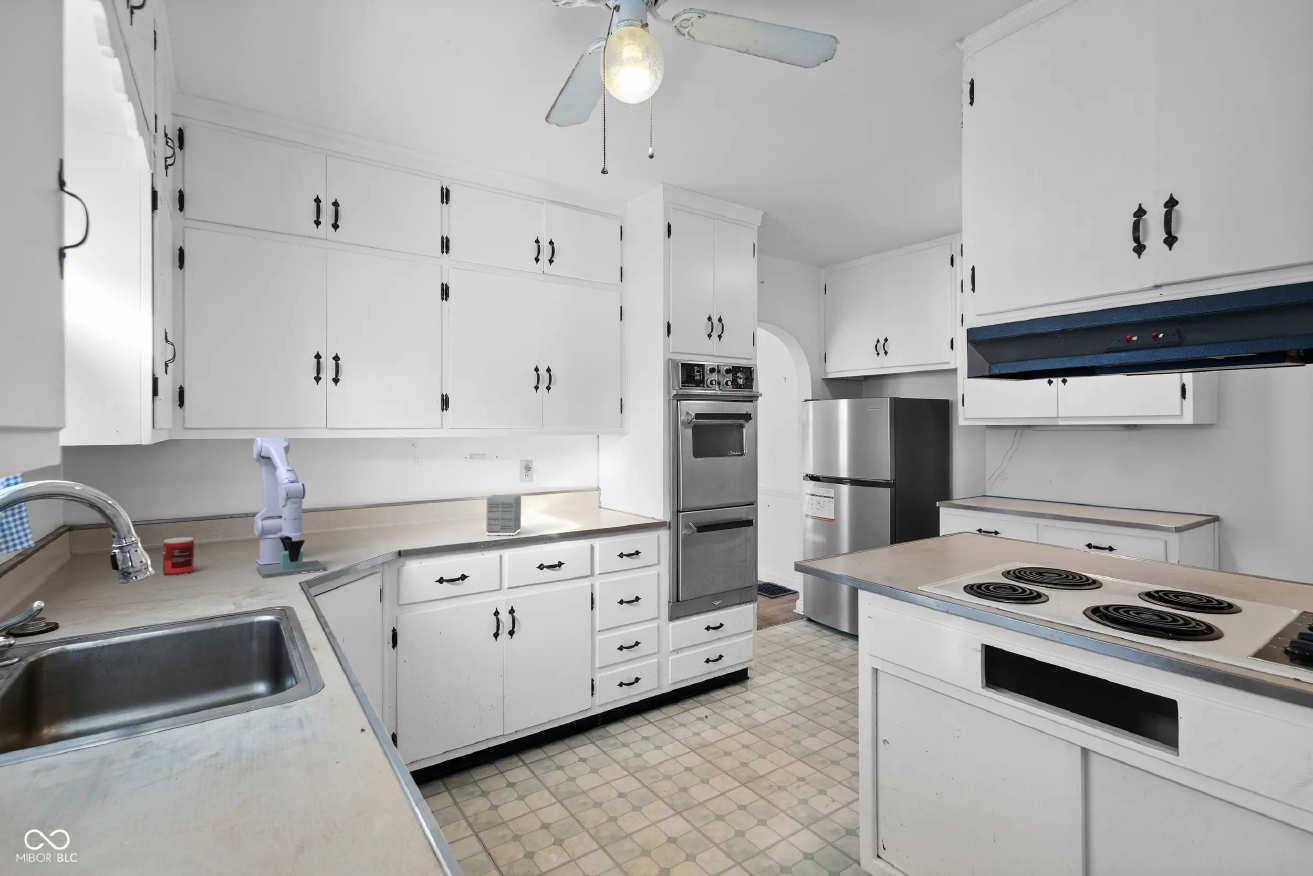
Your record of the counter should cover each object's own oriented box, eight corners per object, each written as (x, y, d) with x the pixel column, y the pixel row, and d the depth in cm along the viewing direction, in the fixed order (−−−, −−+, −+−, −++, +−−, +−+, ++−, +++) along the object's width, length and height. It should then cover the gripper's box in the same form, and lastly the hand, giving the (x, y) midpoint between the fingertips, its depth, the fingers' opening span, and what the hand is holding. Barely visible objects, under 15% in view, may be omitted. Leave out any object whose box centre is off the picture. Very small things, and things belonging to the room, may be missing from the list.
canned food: (176, 570, 202) (176, 537, 202) (199, 571, 202) (200, 537, 202) (156, 575, 194) (156, 541, 194) (180, 576, 194) (181, 541, 194)
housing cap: (279, 566, 204) (279, 551, 204) (298, 564, 208) (298, 549, 207) (282, 569, 200) (282, 554, 200) (302, 567, 203) (302, 552, 203)
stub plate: (256, 570, 203) (256, 559, 203) (317, 563, 215) (317, 553, 215) (262, 578, 193) (263, 566, 193) (326, 570, 204) (326, 559, 204)
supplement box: (493, 531, 292) (493, 494, 292) (521, 531, 292) (521, 495, 292) (485, 536, 279) (486, 497, 279) (514, 536, 279) (515, 497, 279)
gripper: (274, 517, 207) (274, 557, 207) (282, 522, 196) (281, 564, 196) (298, 515, 211) (297, 555, 211) (307, 520, 200) (306, 562, 200)
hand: (291, 559), depth 204 cm, fingers open, 7 cm apart
